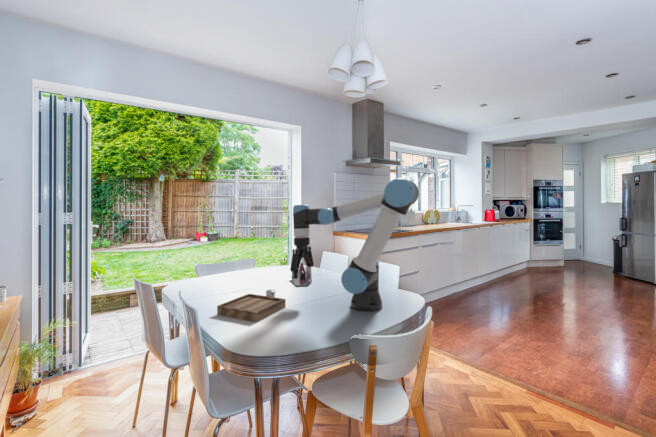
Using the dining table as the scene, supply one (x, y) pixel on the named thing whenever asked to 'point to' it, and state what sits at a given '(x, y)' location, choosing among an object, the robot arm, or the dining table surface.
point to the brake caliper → (302, 278)
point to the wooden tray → (251, 307)
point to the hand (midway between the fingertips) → (303, 282)
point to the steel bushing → (270, 293)
